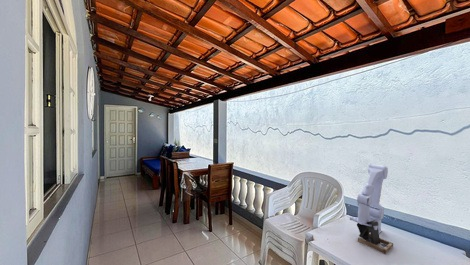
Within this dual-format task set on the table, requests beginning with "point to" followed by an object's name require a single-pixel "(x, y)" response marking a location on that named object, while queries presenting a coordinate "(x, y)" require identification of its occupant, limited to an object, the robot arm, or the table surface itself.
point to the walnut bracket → (385, 250)
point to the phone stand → (371, 233)
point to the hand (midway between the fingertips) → (362, 236)
